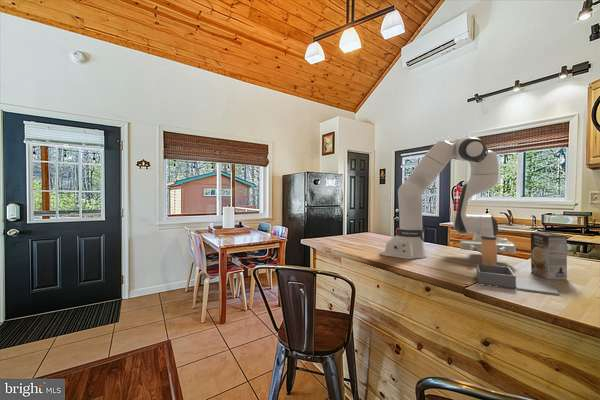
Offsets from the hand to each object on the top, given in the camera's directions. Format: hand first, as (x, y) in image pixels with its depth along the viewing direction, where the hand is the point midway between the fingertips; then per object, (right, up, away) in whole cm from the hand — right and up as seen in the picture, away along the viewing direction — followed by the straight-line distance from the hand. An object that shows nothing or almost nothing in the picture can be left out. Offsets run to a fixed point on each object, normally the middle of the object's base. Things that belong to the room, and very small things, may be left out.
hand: (487, 249), depth 107 cm
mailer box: (-7, -8, -20) cm, 23 cm away
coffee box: (+13, -7, -13) cm, 20 cm away
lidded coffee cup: (-2, -8, -4) cm, 9 cm away
